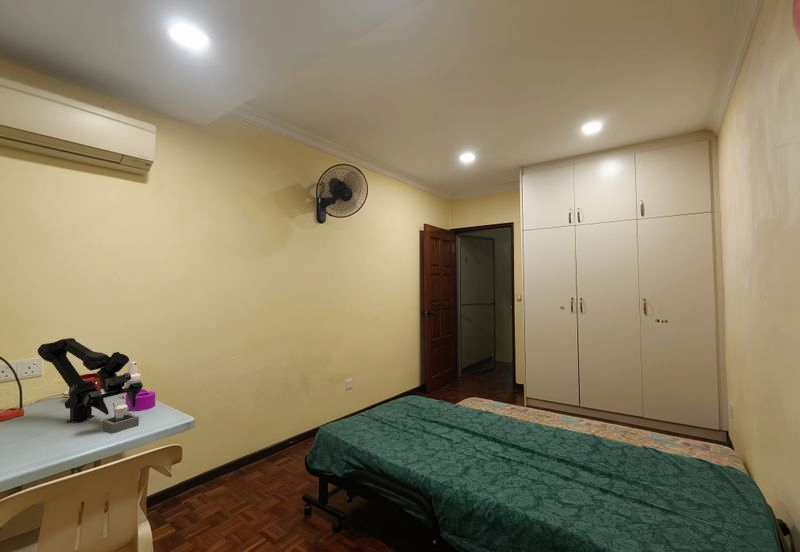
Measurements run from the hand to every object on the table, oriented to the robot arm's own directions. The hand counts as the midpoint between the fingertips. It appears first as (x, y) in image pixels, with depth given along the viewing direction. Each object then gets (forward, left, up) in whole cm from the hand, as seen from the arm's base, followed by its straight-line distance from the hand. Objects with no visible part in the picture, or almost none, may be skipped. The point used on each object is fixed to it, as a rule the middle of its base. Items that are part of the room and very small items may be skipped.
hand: (121, 410), depth 142 cm
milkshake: (-1, 0, -7) cm, 7 cm away
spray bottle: (-25, +39, -7) cm, 47 cm away
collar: (-1, 0, -7) cm, 7 cm away
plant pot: (-46, +36, -7) cm, 59 cm away
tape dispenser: (-10, +25, -7) cm, 28 cm away
